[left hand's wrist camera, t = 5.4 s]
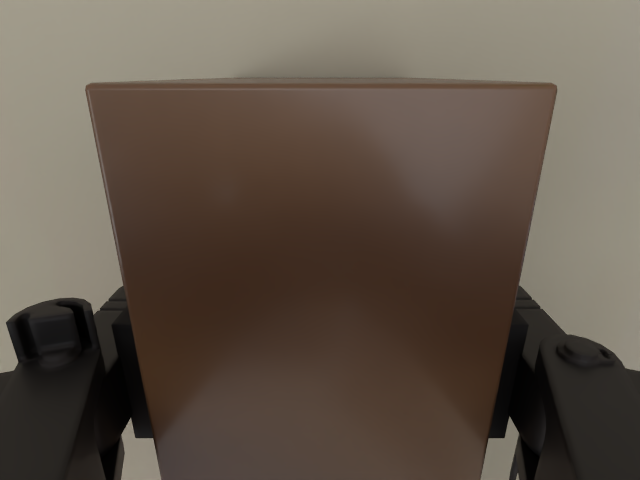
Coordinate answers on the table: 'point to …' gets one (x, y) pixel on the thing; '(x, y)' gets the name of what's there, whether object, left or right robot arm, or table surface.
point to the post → (321, 266)
